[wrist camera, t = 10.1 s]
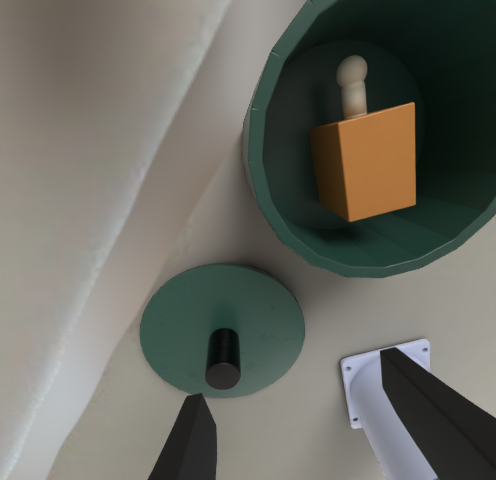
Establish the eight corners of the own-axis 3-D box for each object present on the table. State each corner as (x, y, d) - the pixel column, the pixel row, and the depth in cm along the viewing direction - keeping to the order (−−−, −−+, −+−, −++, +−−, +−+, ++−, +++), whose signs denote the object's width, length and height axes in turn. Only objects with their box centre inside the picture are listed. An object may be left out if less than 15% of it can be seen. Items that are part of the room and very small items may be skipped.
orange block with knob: (369, 190, 17) (416, 205, 13) (319, 204, 17) (349, 223, 13) (359, 63, 14) (415, 27, 10) (300, 80, 14) (329, 51, 10)
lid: (312, 367, 23) (331, 418, 19) (177, 401, 23) (164, 458, 19) (284, 240, 18) (301, 268, 14) (116, 284, 19) (82, 325, 14)
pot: (427, 210, 18) (525, 242, 12) (265, 252, 19) (282, 304, 12) (428, 4, 14) (581, -107, 8) (217, 64, 14) (208, 2, 8)
